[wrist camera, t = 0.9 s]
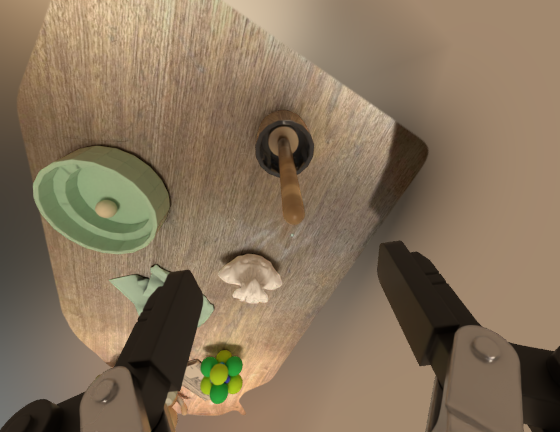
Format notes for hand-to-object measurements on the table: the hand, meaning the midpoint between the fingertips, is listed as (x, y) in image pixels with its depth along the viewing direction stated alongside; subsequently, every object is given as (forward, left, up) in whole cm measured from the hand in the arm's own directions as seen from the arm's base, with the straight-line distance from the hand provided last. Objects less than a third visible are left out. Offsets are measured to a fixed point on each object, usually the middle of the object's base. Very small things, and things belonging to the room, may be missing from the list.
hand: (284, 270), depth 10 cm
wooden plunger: (+1, +2, -26) cm, 27 cm away
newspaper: (+72, +37, -27) cm, 85 cm away
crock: (+1, +2, -27) cm, 27 cm away
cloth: (+43, +9, -27) cm, 52 cm away
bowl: (+25, -10, -27) cm, 38 cm away
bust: (+22, +15, -27) cm, 38 cm away
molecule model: (+53, +33, -27) cm, 68 cm away
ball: (+27, -10, -25) cm, 38 cm away
